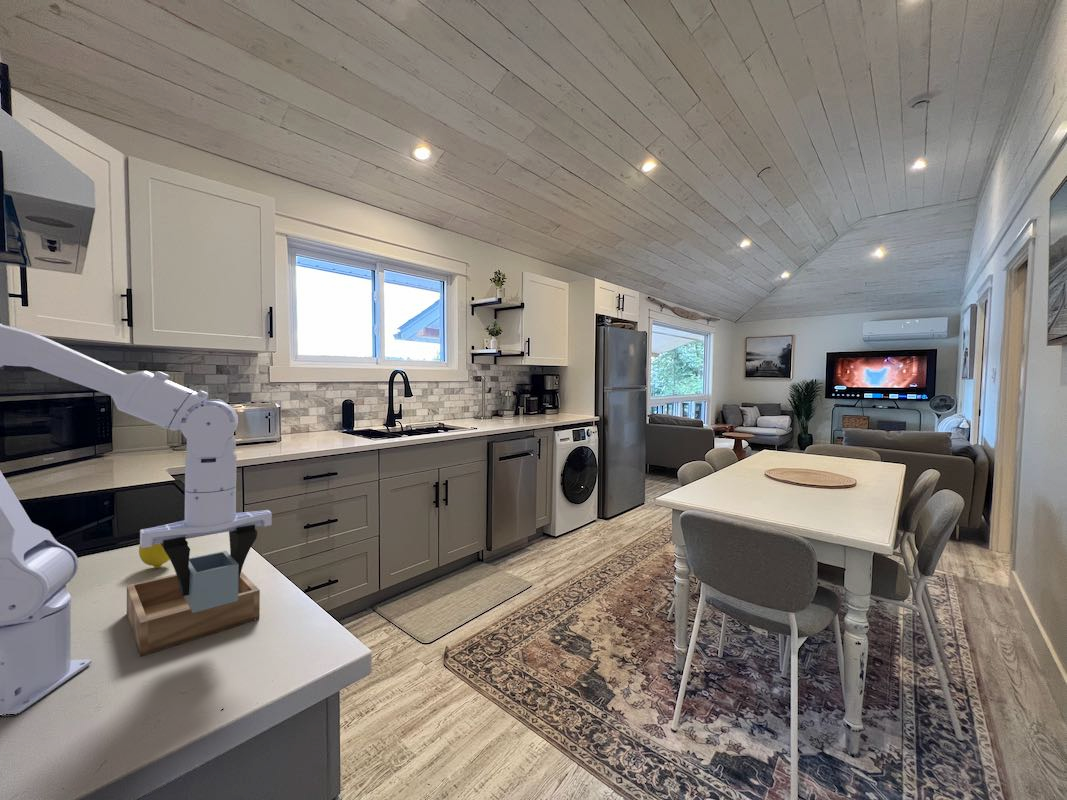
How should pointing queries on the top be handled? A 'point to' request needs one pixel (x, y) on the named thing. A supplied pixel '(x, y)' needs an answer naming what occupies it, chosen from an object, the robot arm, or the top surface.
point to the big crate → (182, 613)
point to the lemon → (153, 555)
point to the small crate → (212, 581)
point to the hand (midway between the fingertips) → (210, 586)
